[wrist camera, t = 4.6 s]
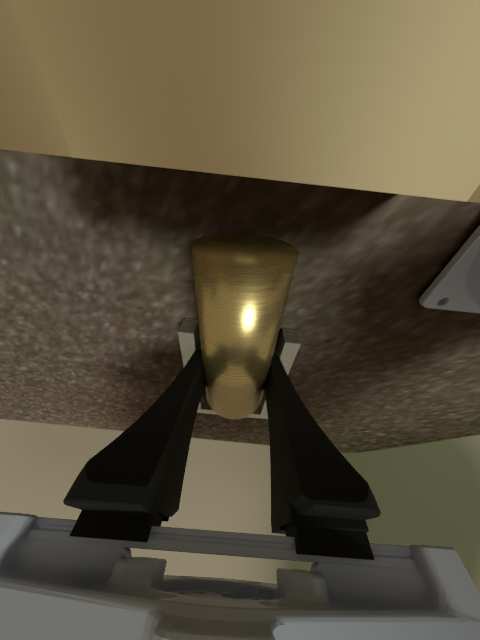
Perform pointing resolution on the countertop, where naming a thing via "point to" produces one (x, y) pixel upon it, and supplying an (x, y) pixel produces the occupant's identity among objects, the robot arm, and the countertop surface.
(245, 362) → the axle
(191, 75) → the wooden stepped block
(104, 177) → the countertop surface
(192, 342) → the cradle
